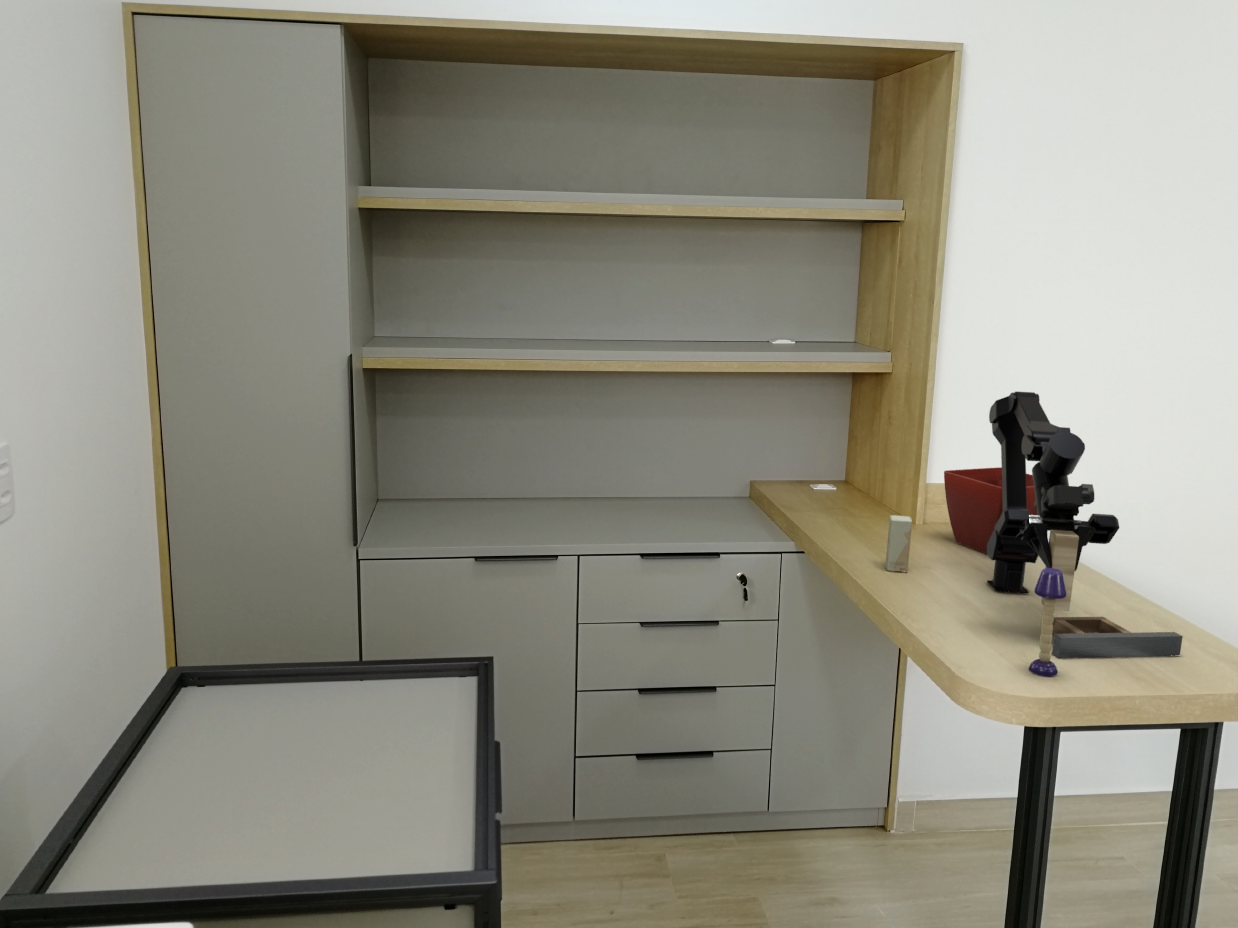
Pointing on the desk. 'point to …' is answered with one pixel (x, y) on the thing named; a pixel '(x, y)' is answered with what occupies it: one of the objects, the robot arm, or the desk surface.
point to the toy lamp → (1048, 618)
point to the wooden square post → (1064, 562)
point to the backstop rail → (1116, 645)
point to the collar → (1085, 625)
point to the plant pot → (978, 504)
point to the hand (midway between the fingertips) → (1062, 569)
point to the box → (898, 543)
